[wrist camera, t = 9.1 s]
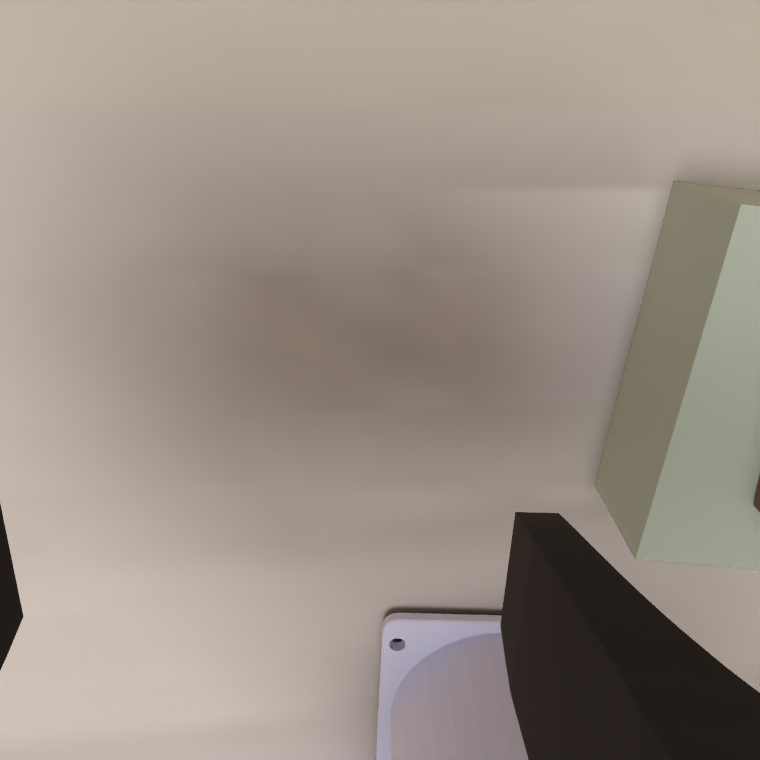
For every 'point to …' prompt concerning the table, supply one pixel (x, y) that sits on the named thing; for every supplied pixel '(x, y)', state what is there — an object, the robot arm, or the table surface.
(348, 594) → the table surface
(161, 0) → the table surface
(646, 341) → the sage block
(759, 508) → the walnut cube
